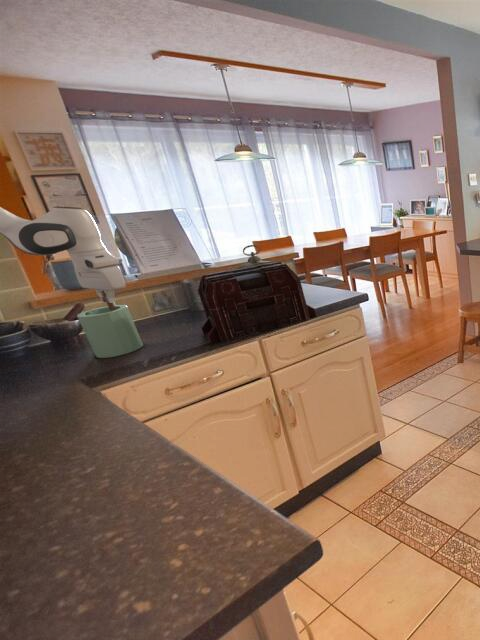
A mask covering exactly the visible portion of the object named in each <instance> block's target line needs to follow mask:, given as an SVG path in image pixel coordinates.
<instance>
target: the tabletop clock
mask: <svg viewBox="0 0 480 640" xmlns="http://www.w3.org/2000/svg"><path fill="white" fill-rule="evenodd" d="M251 247H253V248H254V247H255V248H257V249H258V251H257V252H254V251H251V252H250V253H245V251H246V250H247V249H248V248H251ZM260 252H261V249H260V247H259V246H258V245H256V244H250V245H249V244H248V245H245V247H243V249H242V253H243V254H244V255H245V256H248V259H247V262H246V263H243V264H239V266H237V268H236V270H237V269H242V268H248V267H253V266H256V265H262V264H267V263H273V262H274V261H268V260H262V258H261V257H259V256H257V255H258V254H260Z"/></svg>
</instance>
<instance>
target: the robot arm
mask: <svg viewBox="0 0 480 640" xmlns="http://www.w3.org/2000/svg"><path fill="white" fill-rule="evenodd" d="M0 234H1V235H2V236H3V237H5V239H6V240H7V242H9V243H10V244H11V245H12V246H13V247H14V248H16V249H17V250H18V251H20V252H23V253H25V254H28V255H33V256H34V255H35V256H36V255H37V256H52V255H55V254H58V253H61V252H65V251H67V254H68V256H69V258H70V260H71V262H72V264H73V267H74V268H73V269H74V273H75V275H76V278H77V282H78V284H79V286H81V288H83V289H90V290H91V289H92V290H94V291H95V293H96V294H97V295H98V297H99V299H100V300H101V302H103V303H106V301H105V298H104V296H102V294H101V292H102V291H103V290H104V293H106V297H107V298H106V300H107V302H108V303H113V302H114V303H116V302H117V300H116V297H115V296H116V295H115V293H116V291H121V290H124V289H126V281H125V278H124V275H123V272H122V270H121V268H120V266H119V264H120V261H119V259H118V257H116V256H115V255H113V254H112V253H110V252H109V251H108V249H107V248H106V245H104V243H103V242H102V239H101V233H100V230H99V228H98V225H97V224H96V222H95V220H94V218H93V217H92V215H91V214H90V212H89V211H88V210H86V209H84V208H82V207H77V206H76V207H75V206H54V207H52V208H51V209H50V210H49V211H48V212H46V213H44V214H43V215H41V216H39V217H37V218H35V219H32V220H31V219H26V218H23V217H20V216H19V215H15V214H14V213H12V212H10V211H9V210H7V209H4V208H3V207H1V206H0Z"/></svg>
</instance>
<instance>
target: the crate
mask: <svg viewBox="0 0 480 640" xmlns="http://www.w3.org/2000/svg"><path fill="white" fill-rule="evenodd" d="M272 262H273V263H267V264H262V265H256V266H253V267H248V268H242V269H237V268H236V269H231V270H222V271H216V272H212V273H206V274H202V275H201V278H200V279H199V284H198V287H197V293H198V296H199V298H200V301H201V305H202V307H203V310H204V313H205V316H206V319H205V321H204V323H203V324H202V325H201V326H200V328H201V332H202V334H203V336H204V337H206V338H207V339H208V341H209V343H210V344H215V343H219V342H221V343H228V342H230V341H233V340H237V339H241V338H245V337H248V336H252V335H255V334H259V333H260V332H264V331H268V330H272V329H276V328H283V327H285V326H289V325H293V324H297V323H301V322H305V321H309V320H310V319H311V318H314V317H317V313H316V309H315V308H314V307H313V306H311V305H310V304H309V305H308V304H307V301H306V297H305V293H304V289H303V285H302V281H301V278H300V277H299V276H298V275H297V274H296V273H295V272H294V271H293V269H291V267H289V265H288V264H287V263H282V262H281V261H272Z"/></svg>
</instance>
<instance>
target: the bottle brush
mask: <svg viewBox="0 0 480 640" xmlns="http://www.w3.org/2000/svg"><path fill="white" fill-rule="evenodd" d="M101 294H102V296H104V298H105V301H106V302H105V303H106V306H108V308H109V310H110V311H114V310H117V308H116V306H115V305H116V304H115V302H113V303H108V302H107V300H106V298H107V297H106V293H104V290H103V291H102V292H101Z"/></svg>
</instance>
